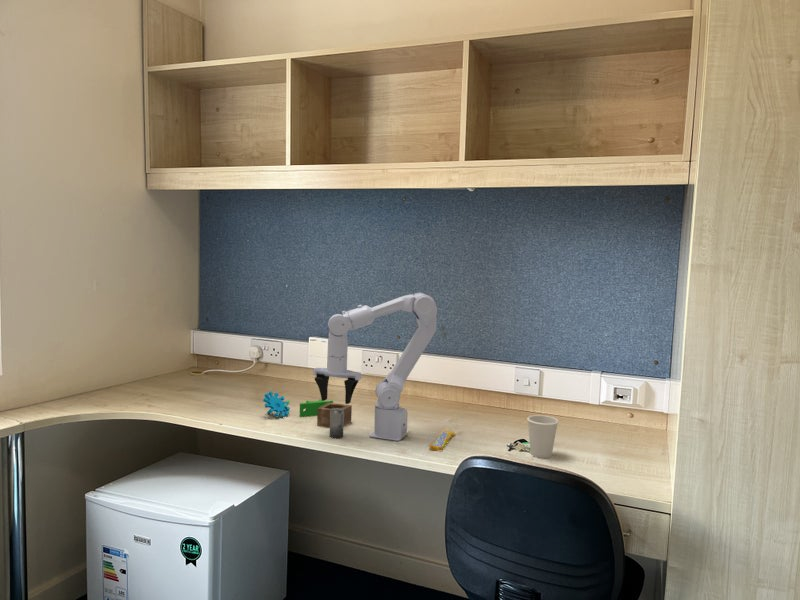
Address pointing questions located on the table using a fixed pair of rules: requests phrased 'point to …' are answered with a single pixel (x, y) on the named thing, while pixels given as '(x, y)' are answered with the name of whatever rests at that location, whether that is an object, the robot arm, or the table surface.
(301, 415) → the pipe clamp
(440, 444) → the candy bar
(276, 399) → the gear
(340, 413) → the peg
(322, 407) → the socket
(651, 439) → the table surface
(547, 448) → the dixie cup
